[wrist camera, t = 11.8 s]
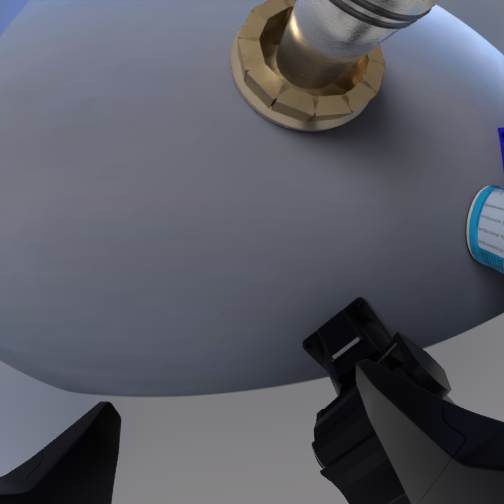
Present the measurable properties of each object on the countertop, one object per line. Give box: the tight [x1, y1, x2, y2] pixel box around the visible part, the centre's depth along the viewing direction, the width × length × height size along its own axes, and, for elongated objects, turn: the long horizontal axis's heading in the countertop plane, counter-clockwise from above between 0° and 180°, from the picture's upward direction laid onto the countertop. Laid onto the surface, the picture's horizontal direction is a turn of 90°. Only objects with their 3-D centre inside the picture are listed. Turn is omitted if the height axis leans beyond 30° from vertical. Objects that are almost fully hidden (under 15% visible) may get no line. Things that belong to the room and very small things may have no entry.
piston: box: [276, 0, 438, 90], centre depth 10 cm, size 5×5×12 cm
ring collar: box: [231, 0, 385, 132], centre depth 15 cm, size 10×10×4 cm
